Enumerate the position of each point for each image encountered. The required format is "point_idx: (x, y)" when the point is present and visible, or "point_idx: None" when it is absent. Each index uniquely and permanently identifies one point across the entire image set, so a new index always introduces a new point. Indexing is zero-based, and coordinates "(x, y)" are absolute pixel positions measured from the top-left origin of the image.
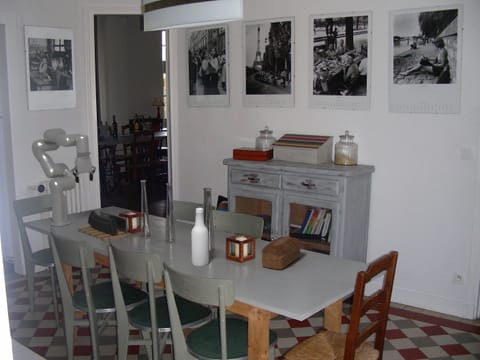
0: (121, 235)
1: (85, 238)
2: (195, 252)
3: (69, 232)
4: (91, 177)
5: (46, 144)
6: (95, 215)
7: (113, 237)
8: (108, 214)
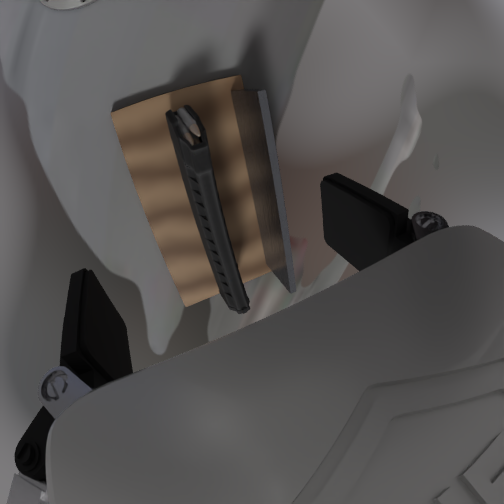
0: (244, 282)
1: (123, 248)
2: None
3: (73, 132)
4: (356, 263)
5: None
6: (200, 192)
7: (214, 294)
8: (270, 172)
